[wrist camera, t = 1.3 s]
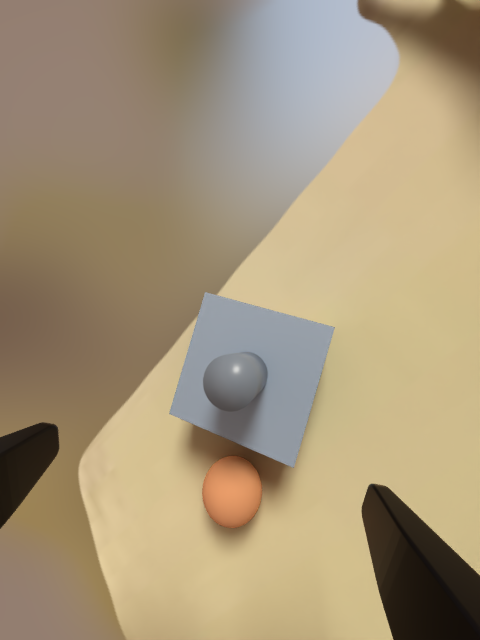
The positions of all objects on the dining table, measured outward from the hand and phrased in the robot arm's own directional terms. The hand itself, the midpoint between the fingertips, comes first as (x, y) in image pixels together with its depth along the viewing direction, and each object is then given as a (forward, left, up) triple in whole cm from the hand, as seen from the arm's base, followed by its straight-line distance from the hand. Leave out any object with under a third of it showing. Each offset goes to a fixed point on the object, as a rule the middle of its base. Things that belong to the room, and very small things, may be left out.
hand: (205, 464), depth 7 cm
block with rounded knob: (+2, +1, -17) cm, 17 cm away
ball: (-7, +6, -14) cm, 17 cm away
